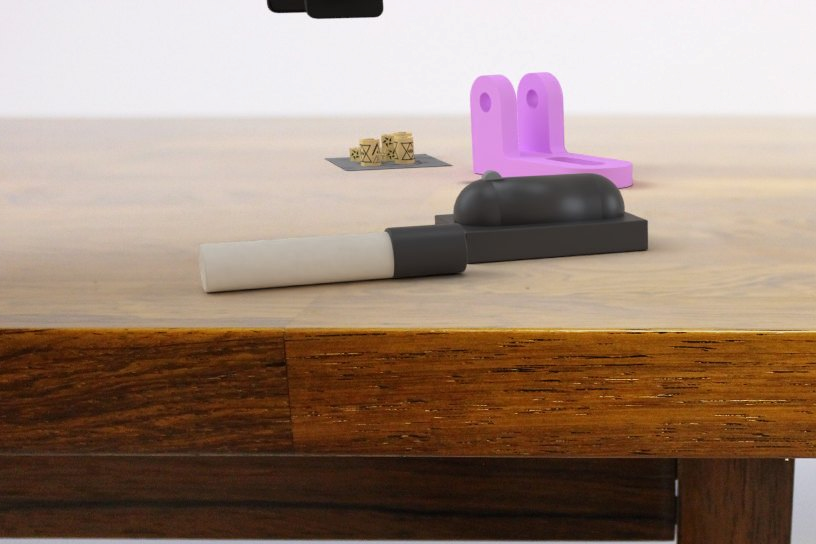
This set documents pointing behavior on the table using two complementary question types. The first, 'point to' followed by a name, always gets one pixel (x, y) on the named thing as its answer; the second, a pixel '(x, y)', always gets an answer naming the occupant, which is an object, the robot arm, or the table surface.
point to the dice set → (386, 154)
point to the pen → (333, 258)
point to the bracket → (529, 131)
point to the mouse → (544, 217)
